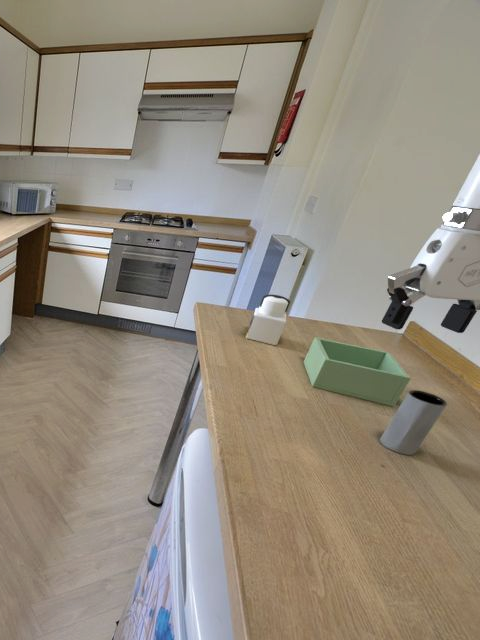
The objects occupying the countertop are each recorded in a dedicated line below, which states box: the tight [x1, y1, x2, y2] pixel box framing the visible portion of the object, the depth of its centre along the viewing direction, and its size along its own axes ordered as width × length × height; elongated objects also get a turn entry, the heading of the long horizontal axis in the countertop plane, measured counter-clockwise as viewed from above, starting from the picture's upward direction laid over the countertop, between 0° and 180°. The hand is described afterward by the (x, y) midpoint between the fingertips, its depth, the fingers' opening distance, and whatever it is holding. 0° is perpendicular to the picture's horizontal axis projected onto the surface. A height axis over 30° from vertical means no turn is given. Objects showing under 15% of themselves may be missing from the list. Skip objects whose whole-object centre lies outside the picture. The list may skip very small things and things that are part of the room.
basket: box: [303, 336, 412, 408], centre depth 90 cm, size 14×14×7 cm
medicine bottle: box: [245, 294, 291, 346], centre depth 110 cm, size 7×7×12 cm
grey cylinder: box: [379, 389, 448, 456], centre depth 69 cm, size 4×4×10 cm
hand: (420, 327), depth 68 cm, fingers open, 9 cm apart
